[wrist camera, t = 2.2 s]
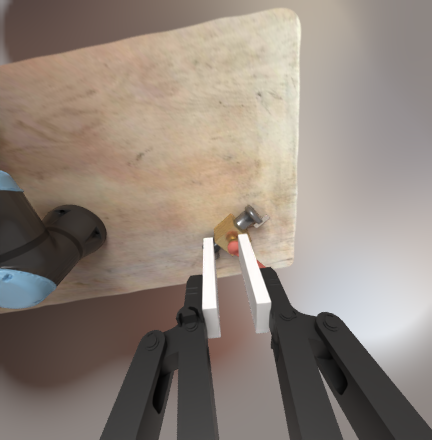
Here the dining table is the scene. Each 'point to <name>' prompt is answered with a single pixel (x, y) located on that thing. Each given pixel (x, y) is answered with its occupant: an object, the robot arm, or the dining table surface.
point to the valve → (235, 228)
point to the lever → (234, 250)
